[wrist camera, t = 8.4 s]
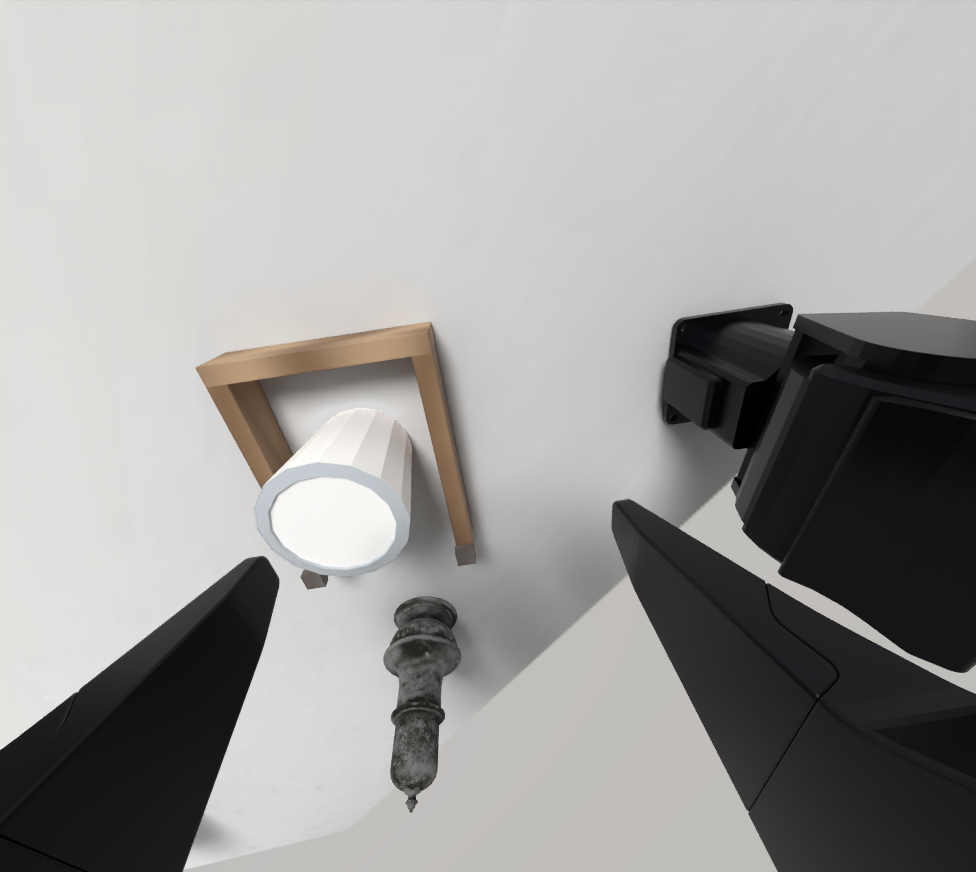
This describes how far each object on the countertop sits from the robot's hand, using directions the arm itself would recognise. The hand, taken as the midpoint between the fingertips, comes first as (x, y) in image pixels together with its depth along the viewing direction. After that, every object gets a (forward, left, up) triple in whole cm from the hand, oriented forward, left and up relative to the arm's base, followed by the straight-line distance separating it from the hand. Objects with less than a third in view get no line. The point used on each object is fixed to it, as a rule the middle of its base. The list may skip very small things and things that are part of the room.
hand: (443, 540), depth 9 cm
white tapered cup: (+6, +4, -13) cm, 15 cm away
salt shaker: (+6, +21, -13) cm, 25 cm away
